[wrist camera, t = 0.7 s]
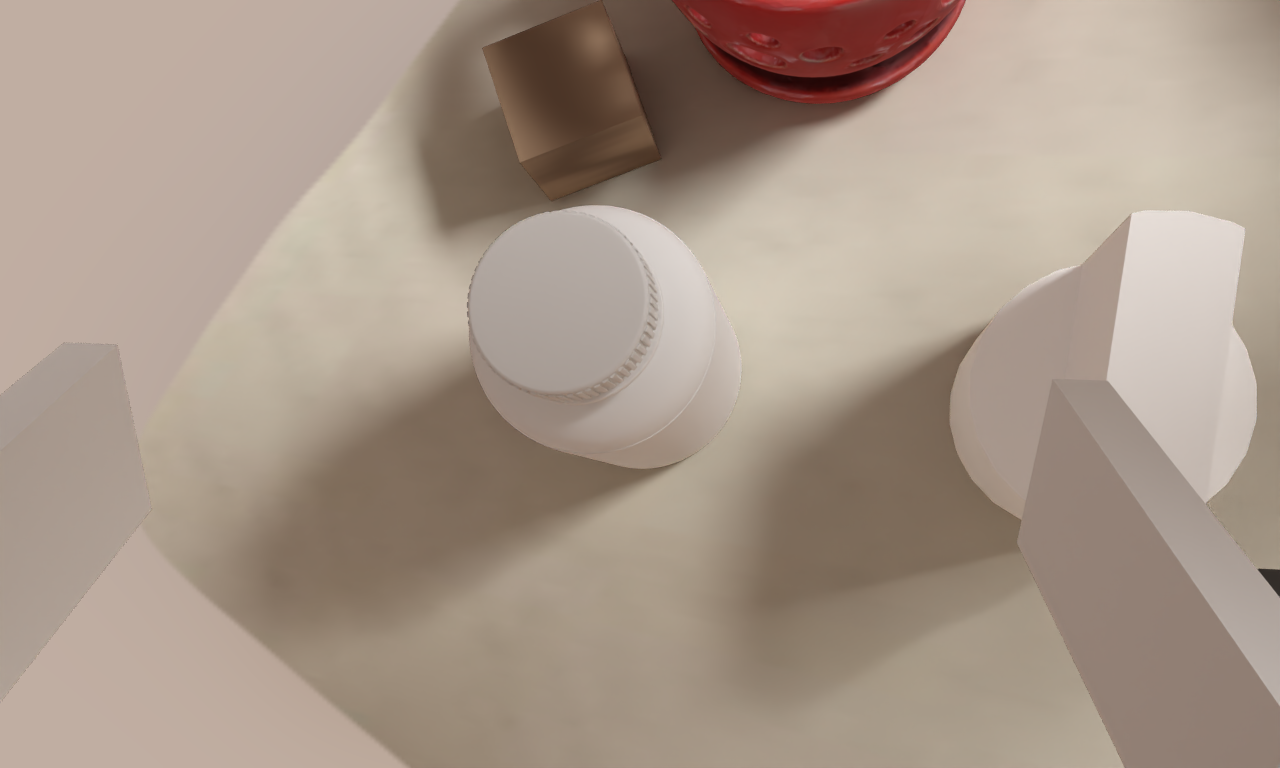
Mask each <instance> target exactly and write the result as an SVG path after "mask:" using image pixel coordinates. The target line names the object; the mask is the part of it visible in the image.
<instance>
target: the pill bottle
mask: <svg viewBox="0 0 1280 768" xmlns="http://www.w3.org/2000/svg"><path fill="white" fill-rule="evenodd" d="M478 263H479V264H478V266H476V269H475V273H474V275H473V276H472V279H471V280H472V282H471V284H470V287H469V289H470V291H469V293H468V302H467V308H468V311H467V317H469V321H468V324H469V341H470V350H471V356H472V361H473V365H474V368H475V372H476V375H477V377H478V380H479V382H480V385H481V387H482V389H483V391H484V393H485V394H486V396H487V398H488V399H489V401H490V402H491V404H492V405H493V407H494V408H495V409H496V410H497V412H498V413H499V414H500V415H501V416H502V417H503V418H504V419H505V420H506V421H507V422H508V423H509V424H510V425H511V426H512V427H514V428H515V429H516V430H518V431H519V432H520V433H522V434H523V435H525V436H526V437H528V438H530V439H531V440H533V441H535V442H537V443H539V444H541V445H544V446H546V447H549V448H552V449H555V450H558V451H561V452H565V453H569V454H573V455H577V456H581V457H585V458H589V459H593V460H597V461H601V462H605V463H609V464H613V465H617V466H621V467H627V468H635V469H649V468H657V467H663V466H667V465H670V464H674V463H676V462H679V461H681V460H683V459H686V458H688V457H690V456H691V455H693V454H695V453H696V452H698V451H699V450H701V449H702V448H703V447H705V446H706V445H707V444H708V443H709V442H710V441H711V440H712V439H713V438H714V437H715V436H716V435H717V434H718V433H719V432H720V430H721V429H722V428H723V426H724V425H725V423H726V422H727V420H728V418H729V417H730V415H731V413H732V411H733V408H734V406H735V403H736V400H737V397H738V393H739V389H740V384H741V374H742V363H741V354H740V348H739V344H738V340H737V337H736V334H735V332H734V330H733V327H732V325H731V323H730V321H729V319H728V317H727V315H726V313H725V311H724V309H723V307H722V305H721V303H720V301H719V299H718V297H717V295H716V293H715V291H714V289H713V287H712V285H711V283H710V281H709V279H708V277H707V275H706V273H705V271H704V269H703V268H702V266H701V264H700V263H699V261H698V260H697V258H696V257H695V255H694V254H693V253H692V251H691V250H690V249H689V248H688V246H687V245H686V244H685V243H684V242H683V241H682V240H681V239H680V238H679V237H678V236H677V235H676V234H674V233H673V232H672V231H671V230H669V229H668V228H667V227H665V226H664V225H662V224H661V223H659V222H658V221H656V220H654V219H652V218H650V217H648V216H646V215H644V214H641V213H638V212H636V211H633V210H629V209H625V208H621V207H615V206H606V205H587V206H577V207H571V208H567V209H563V210H559V211H558V210H556V211H552V212H549V211H548V212H543V214H536V215H534V216H533V217H531V216H530V217H528V218H526V219H525V220H521V221H519V222H517V224H515V225H512V226H511V227H509V229H508V230H505V231H504V232H503V233H502V235H500V236H498V237H497V238H496V239H495V241H494V242H493V243H492V244H491V245H490V246H489V248H488V250H486V251H485V253H484V254H483V257H482V258H481V259H480V261H479V262H478Z"/></svg>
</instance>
